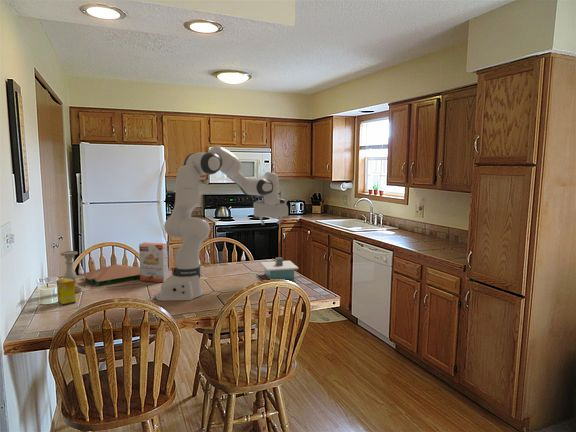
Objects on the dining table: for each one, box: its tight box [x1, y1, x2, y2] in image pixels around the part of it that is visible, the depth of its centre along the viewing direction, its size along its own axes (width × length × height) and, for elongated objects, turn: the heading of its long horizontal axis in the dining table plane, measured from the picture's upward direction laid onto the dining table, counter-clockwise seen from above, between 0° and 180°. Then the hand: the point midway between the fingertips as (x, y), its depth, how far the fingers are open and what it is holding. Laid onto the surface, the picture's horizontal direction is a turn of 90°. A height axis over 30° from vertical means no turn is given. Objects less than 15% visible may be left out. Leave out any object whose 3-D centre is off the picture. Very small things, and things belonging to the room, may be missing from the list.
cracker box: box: [138, 241, 169, 283], centre depth 228 cm, size 14×6×21 cm, turn 80°
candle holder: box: [60, 250, 82, 294], centre depth 206 cm, size 9×9×20 cm
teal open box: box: [264, 268, 295, 280], centre depth 239 cm, size 14×14×6 cm
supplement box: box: [56, 278, 76, 307], centre depth 190 cm, size 6×6×11 cm
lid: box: [260, 257, 299, 271], centre depth 238 cm, size 18×18×5 cm
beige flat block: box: [83, 264, 140, 287], centre depth 233 cm, size 23×33×8 cm
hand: (270, 224), depth 240 cm, fingers open, 8 cm apart
